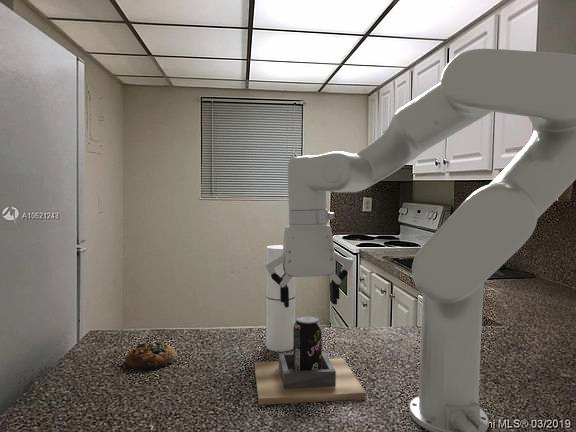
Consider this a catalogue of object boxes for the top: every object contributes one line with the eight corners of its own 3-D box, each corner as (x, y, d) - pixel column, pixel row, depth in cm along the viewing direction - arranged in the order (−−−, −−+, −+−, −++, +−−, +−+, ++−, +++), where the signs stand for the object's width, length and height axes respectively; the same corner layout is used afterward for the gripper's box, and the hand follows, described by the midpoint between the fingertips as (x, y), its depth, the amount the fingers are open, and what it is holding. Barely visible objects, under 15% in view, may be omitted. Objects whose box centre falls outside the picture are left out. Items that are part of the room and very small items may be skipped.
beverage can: (323, 371, 86) (324, 315, 85) (318, 384, 80) (319, 323, 80) (296, 368, 87) (296, 313, 86) (290, 380, 82) (290, 321, 81)
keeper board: (365, 398, 77) (365, 376, 77) (258, 404, 75) (258, 382, 74) (343, 363, 93) (343, 345, 93) (254, 367, 90) (254, 348, 90)
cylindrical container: (269, 352, 99) (270, 249, 97) (263, 342, 106) (263, 245, 104) (298, 349, 101) (299, 248, 99) (290, 339, 108) (291, 244, 106)
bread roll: (125, 374, 87) (125, 349, 87) (125, 361, 97) (125, 339, 98) (179, 368, 91) (179, 345, 91) (173, 356, 101) (174, 335, 102)
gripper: (345, 216, 87) (347, 297, 87) (263, 219, 84) (265, 302, 85) (355, 218, 79) (357, 306, 80) (265, 221, 77) (268, 312, 78)
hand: (310, 304), depth 82 cm, fingers open, 9 cm apart
